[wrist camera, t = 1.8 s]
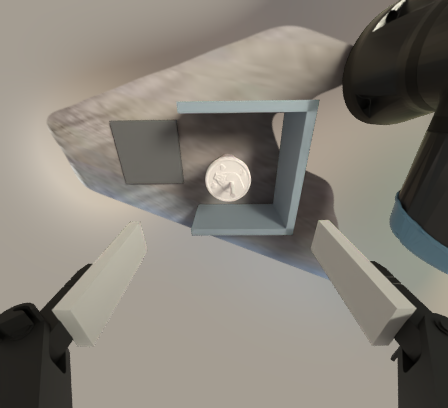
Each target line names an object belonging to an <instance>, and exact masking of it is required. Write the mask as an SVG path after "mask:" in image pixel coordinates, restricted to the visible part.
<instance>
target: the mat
mask: <svg viewBox="0 0 448 408" xmlns="http://www.w3.org/2000/svg"><path fill="white" fill-rule="evenodd" d="M109 122H110V125H111V129H112V133H113V136H114V140H115V144H116V147H117V151H118V154H119V158H120V162H121V165H122V169H123V173H124V176H125V180H126V184H157V183H184V178H183V170H182V162H181V153H180V145H179V137H178V128H177V120H136V121H109Z"/></svg>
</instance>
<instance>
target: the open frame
mask: <svg viewBox="0 0 448 408" xmlns="http://www.w3.org/2000/svg"><path fill="white" fill-rule="evenodd" d="M318 105H319V100H264V101H193V102H177V111H178V113H184V114H209V113H282V112H284V120H283V128H282V136H281V145H280V152H279V160H278V167H277V175H276V183H275V191H274V199H273V204H199V205H198V208H197V212H196V215H195V218H194V222H193V225H192V228H191V232H192V235H293V230H294V225H295V220H296V215H297V210H298V205H299V200H300V195H301V190H302V185H303V180H304V175H305V170H306V165H307V160H308V155H309V150H310V145H311V140H312V135H313V130H314V124H315V120H316V115H317V109H318Z"/></svg>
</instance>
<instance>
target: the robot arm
mask: <svg viewBox="0 0 448 408" xmlns="http://www.w3.org/2000/svg"><path fill="white" fill-rule="evenodd" d="M343 96H344V100H345V103H346V106H347V108H348V109H349V111H350V112H351V114H352V115H353V116H354V117H355V118H357V119H358V120H360V121H362V122H365V123H368V124H377V125H390V124H397V123H401V122H405V121H408V120H411V119H414V118H417V117H420V116H424V115H427V114H430V113H433V112H435V113H434V116H433V118H432V120H431V123H430V125H429V127H428V129H427V131H426V133H425V136H424V138H423V140H422V142H421V145H420V147H419V149H418V152H417V154H416V156H415V159H414V161H413V164H412V166H411V168H410V171H409V173H408V175H407V177H406V180H405V182H404V184H403V186H402V189H401V190H400V191H399V192H397V194H396V196H395V201H396V202H395V205H394V207H393V210H392V213H391V216H390V227H391V230H392V232H393V233H394V235H395V236H396V237H397V238H398V239H399V240H400V242H401V243H402V244H403V245H404V246H405V247H406V248H407V249H408V250H409V251H411V252H412V253H413V254H415V255H416V256H418V257H419V258H420V259H422V260H423V261H425V262H426V263H428V264H430V265H431V266H433V267H435V268H437V269H438V270H441V271H442V272H444V273H446V274H448V0H399V1H398V2H396V3H394V4H393V5H391V6H390V7H388V8H387V9H385V10H384V11H383V12H381V13H380V14H379V15H378V16H377V17H375V19H373V20H372V22H371V23H370V24H369V25H368V26H367V27H366V28H365V29H364V31H363V32H362V33H361V35H360V36H359V38H358V39H357V41H356V43H355V44H354V46H353V48H352V50H351V52H350V55H349V57H348V60H347V63H346V66H345V70H344V75H343ZM147 251H148V249H147V245H146V242H145V238H144V234H143V230H142V226H141V223H140V222H129V224H128V225H127V226H126V227H125V228H124V229H123V230H122V232H121V233H120V234H119V235H118V236H117V237H116V238H115V239H114V241H113V242H112V243H111V244H110V245H109V246H108V247H107V249H106V250H105V251H104V252H103V253H102V254H101V255H100V256H99V258H98V259H97V260H96V261H95V262H94V263H93V264H87V265H86V266H84V267H83V268H82V269H80V270H79V271H77V273H76V274H75V275H74V276H73V277H72V278H71V280H69V281H68V282H67V283H66V284H65V285H64V287H63V288H61V290H60V291H59V292H58V293H57V294H56V295H55V296H54V297H53V298H52V299H51V300H50V301H49V302H48V303H47V304H46V306H45V307H44V308H43V309H42V310H41V311H40V312H39V310H38V309H37V308H36V306H35V305H34V304H32V303H23V304H19V305H16V306H14V307H12V308H10V309H8V310H6V311H4V312H3V313H2V314H0V408H72V392H71V371H70V370H71V369H70V352H69V349H68V346H69V345H70V343H71V342H72V340H74V342H75V343H76V345H77V346H94V345H95V343H96V341H97V340H98V338H99V336H100V334H101V333H102V331H103V329H104V328H105V326H106V324H107V322H108V320H109V319H110V317H111V315H112V313H113V311H114V310H115V308H116V306H117V304H118V303H119V301H120V299H121V297H122V296H123V294H124V292H125V290H126V289H127V287H128V285H129V283H130V282H131V280H132V278H133V276H134V274H135V272H136V271H137V269H138V267H139V266H140V264H141V262H142V260H143V259H144V257H145V255H146V253H147ZM311 251H312V252H313V254H314V256H315V257H316V259H317V260H318V262H319V263H320V265H321V266H322V268H323V270H324V271H325V273H326V274H327V276H328V277H329V279H330V281H331V282H332V284H333V285H334V286H335V288H336V290H337V291H338V293H339V294H340V296H341V298H342V299H343V301H344V302H345V304H346V306H347V307H348V309H349V310H350V312H351V313H352V315H353V317H354V318H355V320H356V321H357V323H358V324H359V326H360V327H361V329H362V331H363V332H364V334H365V335H366V337H367V338H368V340H369V342H370V343H371V345H389V344H390V343H391V341H392V340H393V339H394V338H395V340H396V341H397V342H398V344H399V345H400V346H399V348H398V349H397V350H396V351H395V353H394V354H393V355H392V357H391V360H392V361H395V359H396V358H397V357H398V408H448V318H447V317H445V316H442V315H440V314H437V313H432V312H431V311H430V310H429V309H428V308H427V307H426V306H425V305H424V304H423V303H422V302H420V301H419V300H418V299H417V298H416V297H415V296H414V295H413V294H412V293H411V292H410V291H409V290H408V289H407V288H406V287H405V286H404V285H401V282H399V281H398V280H397V279H396V278H394V276H393V275H392V274H391V273H390V272H389V271H388V270H387V269H386V268H385V267H383V266H381V265H380V264H378V263H377V262H375V261H369V260H368V259H367V258H366V257H365V256H364V255H363V254H362V253H361V252H360V251H359V250H358V249H357V248H356V247H355V246H354V245H353V244H352V243H351V242H350V241H349V240H348V239H347V238H346V237H345V236H344V235H343V234H342V233H341V232H340V231H339V230H338V229H337V228H336V227H335V226H334V225H333V224H332V223H331V222H330V221H329V220H318V223H317V227H316V231H315V235H314V238H313V242H312V246H311Z"/></svg>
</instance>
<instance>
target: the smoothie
mask: <svg viewBox="0 0 448 408" xmlns="http://www.w3.org/2000/svg"><path fill="white" fill-rule="evenodd" d="M205 182H206V187H207V189H208V191H209V192H210V194H211V195H212V196H213V197H215V198H216V199H218V200H221V201H226V202H230V201H235V200H238V199H240V198H241V197H243V196H244V195H245V194H246V193H247V191H248V189H249V187H250V184H251V176H250V171H249V169H248V167H247V165H246V164H245V163H244V162H243V161H241V160H240V159H238V158H235V157H234V156H233V155H231V154H224V155H222V156H221V157H220V158H219V159H217V160H215V161H214V162H213V163H212V164H211V165H210V166H209V168H208V169H207V172H206V178H205Z"/></svg>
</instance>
